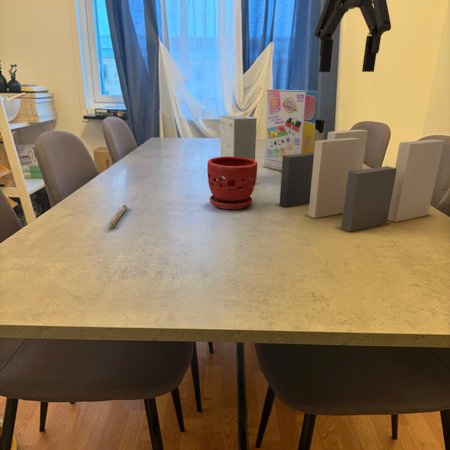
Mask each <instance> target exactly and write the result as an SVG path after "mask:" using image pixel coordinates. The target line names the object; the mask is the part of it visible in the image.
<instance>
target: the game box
mask: <svg viewBox="0 0 450 450" xmlns="http://www.w3.org/2000/svg"><path fill="white" fill-rule="evenodd" d="M318 98H319V90H303V89H302V90H301V89H267V90H266V112H265V113H266V117H265V144H264V145H265V149H264V167H265V168H269V169H272V170H275V171H280V172H282V158H283V155H293V154H303V153H313V145H314V133H315V121H316V120H317V109H318Z"/></svg>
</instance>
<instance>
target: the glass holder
mask: <svg viewBox="0 0 450 450" xmlns="http://www.w3.org/2000/svg"><path fill="white" fill-rule="evenodd" d="M325 122H326V121H325V120H324V119H316V121H315V133H314V145H313V152H314V150H315V141H320V140H324V137H325V130H326V124H325Z"/></svg>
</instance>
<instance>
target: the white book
mask: <svg viewBox="0 0 450 450" xmlns="http://www.w3.org/2000/svg"><path fill="white" fill-rule="evenodd" d="M359 143H360V139H358V138H343V139H331V140H327V139H323V140H320V141H315V150H314V160H313V171H312V182H311V193H310V203H308V204H309V205H308V215H307V216H308V217H310V218H313V219H317V218H323V217H328V216H333V215H339V214H343V209H344V202H345V194H346V187H347V179H348V171H354V170H356V165H357V158H358V150H359Z"/></svg>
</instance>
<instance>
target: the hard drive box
mask: <svg viewBox="0 0 450 450" xmlns="http://www.w3.org/2000/svg"><path fill="white" fill-rule="evenodd" d="M257 120H258V119H257V118H256V117H252V116H246V115H241V114H240V115H239V114H237V115H220V157H225V156H231V157H244V158H249V159H253V160H255V161H256V148H257V147H256V143H257ZM221 178H222V179H225V178H224V177H223V176H222V177H221ZM250 179H251V178H250Z"/></svg>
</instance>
